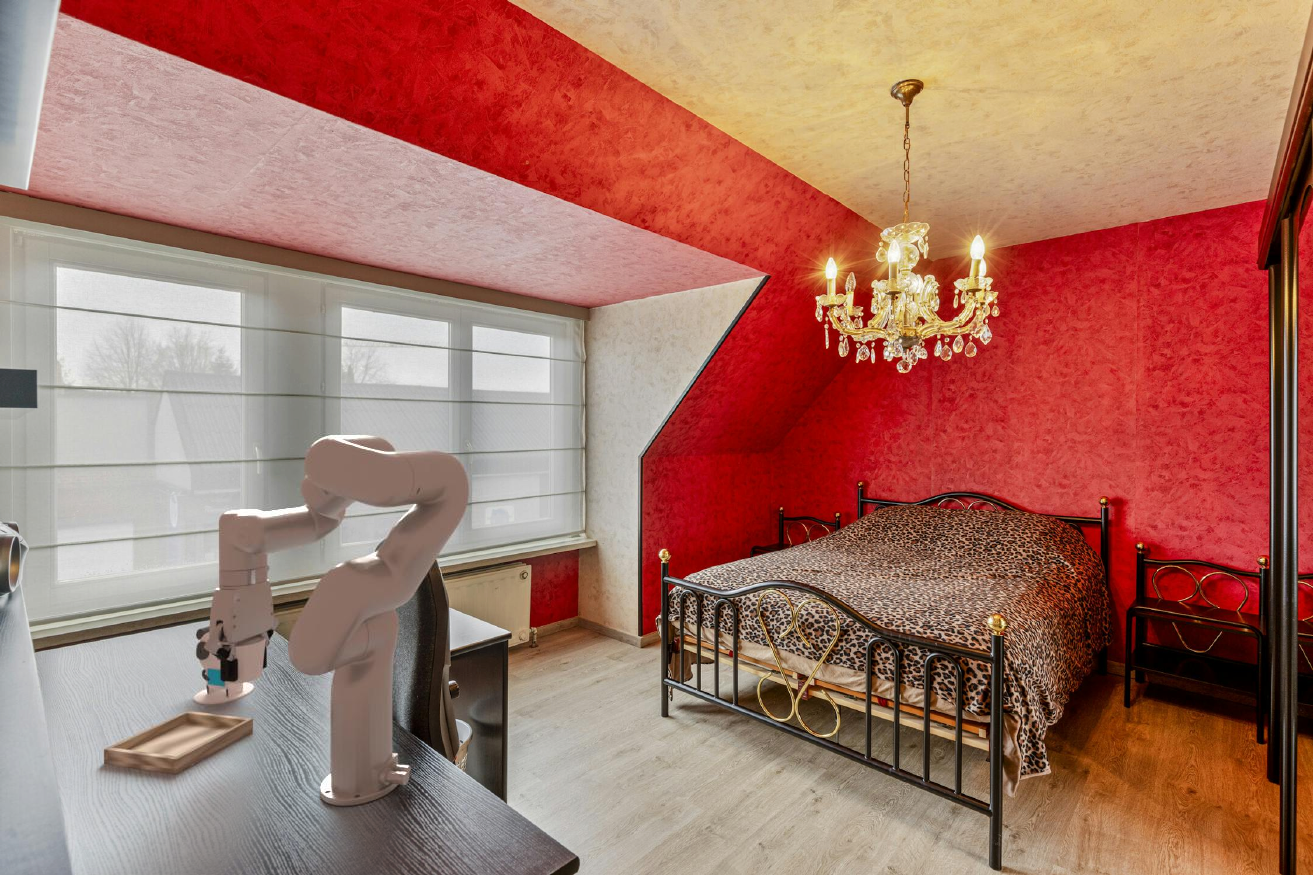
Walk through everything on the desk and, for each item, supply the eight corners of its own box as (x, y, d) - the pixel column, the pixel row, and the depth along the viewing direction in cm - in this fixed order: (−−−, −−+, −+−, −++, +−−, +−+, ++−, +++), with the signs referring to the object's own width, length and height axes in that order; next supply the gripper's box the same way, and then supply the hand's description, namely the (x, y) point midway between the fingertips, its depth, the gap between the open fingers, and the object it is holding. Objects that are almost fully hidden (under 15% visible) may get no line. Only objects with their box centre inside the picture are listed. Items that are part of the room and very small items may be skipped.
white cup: (244, 686, 112) (244, 647, 112) (212, 683, 113) (211, 644, 113) (274, 671, 119) (274, 635, 119) (244, 669, 120) (243, 632, 120)
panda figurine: (179, 699, 140) (178, 633, 140) (227, 680, 151) (227, 618, 151) (219, 707, 136) (219, 638, 136) (265, 686, 147) (265, 623, 147)
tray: (252, 731, 125) (252, 718, 125) (176, 773, 110) (176, 759, 110) (187, 723, 129) (187, 710, 129) (103, 763, 113) (103, 749, 113)
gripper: (264, 566, 125) (265, 656, 125) (183, 586, 108) (183, 690, 109) (296, 568, 124) (297, 659, 124) (219, 589, 107) (219, 694, 107)
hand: (244, 673), depth 116 cm, fingers closed on white cup, 5 cm apart
